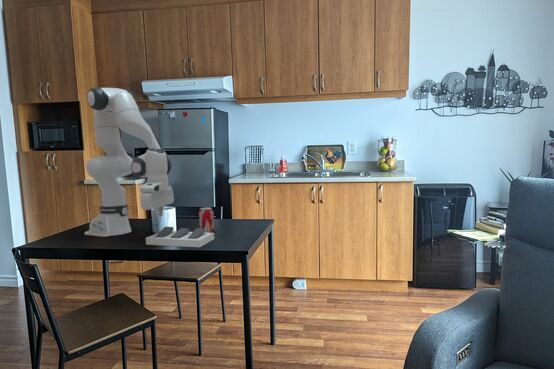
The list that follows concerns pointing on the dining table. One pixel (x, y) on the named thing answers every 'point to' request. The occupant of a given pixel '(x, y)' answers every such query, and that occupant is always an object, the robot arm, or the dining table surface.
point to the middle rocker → (180, 233)
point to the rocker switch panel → (180, 240)
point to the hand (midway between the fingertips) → (159, 216)
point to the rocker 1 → (165, 232)
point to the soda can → (206, 219)
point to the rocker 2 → (197, 233)
